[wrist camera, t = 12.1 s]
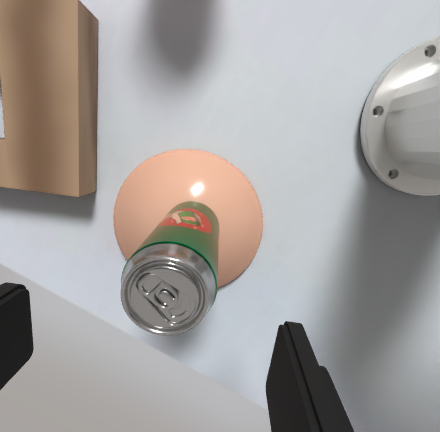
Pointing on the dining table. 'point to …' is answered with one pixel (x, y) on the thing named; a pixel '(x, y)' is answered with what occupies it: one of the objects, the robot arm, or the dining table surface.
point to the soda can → (174, 271)
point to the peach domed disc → (191, 191)
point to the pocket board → (48, 96)
